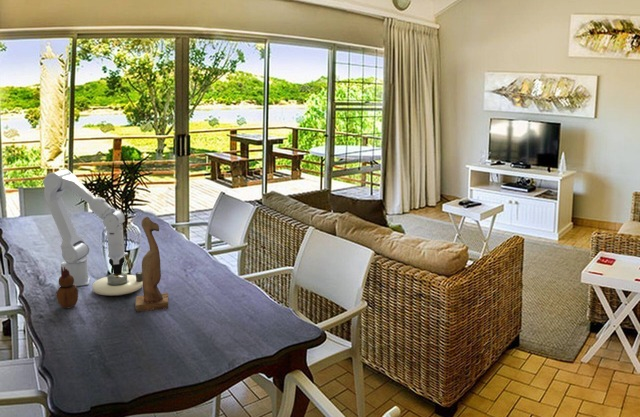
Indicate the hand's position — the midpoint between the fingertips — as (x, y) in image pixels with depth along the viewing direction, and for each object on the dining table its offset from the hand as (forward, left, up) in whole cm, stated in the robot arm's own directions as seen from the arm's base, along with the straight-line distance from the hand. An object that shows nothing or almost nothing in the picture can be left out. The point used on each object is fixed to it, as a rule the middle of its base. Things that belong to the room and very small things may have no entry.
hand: (118, 276), depth 221 cm
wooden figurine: (-16, -18, -4) cm, 24 cm away
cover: (0, -5, -1) cm, 5 cm away
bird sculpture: (+12, -24, -4) cm, 27 cm away
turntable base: (0, -5, -3) cm, 6 cm away
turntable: (0, -5, -3) cm, 6 cm away
